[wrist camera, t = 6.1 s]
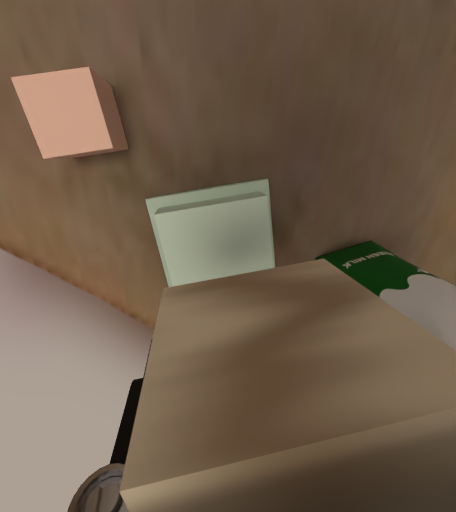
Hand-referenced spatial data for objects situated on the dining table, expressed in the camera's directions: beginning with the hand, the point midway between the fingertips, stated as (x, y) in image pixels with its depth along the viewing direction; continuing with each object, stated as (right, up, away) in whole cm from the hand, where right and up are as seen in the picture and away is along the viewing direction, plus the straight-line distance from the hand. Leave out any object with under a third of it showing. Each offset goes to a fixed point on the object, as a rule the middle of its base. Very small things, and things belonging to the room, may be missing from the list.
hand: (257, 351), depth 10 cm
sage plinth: (-2, +5, +18) cm, 19 cm away
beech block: (0, 0, +1) cm, 1 cm away
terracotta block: (-13, +15, +12) cm, 24 cm away
